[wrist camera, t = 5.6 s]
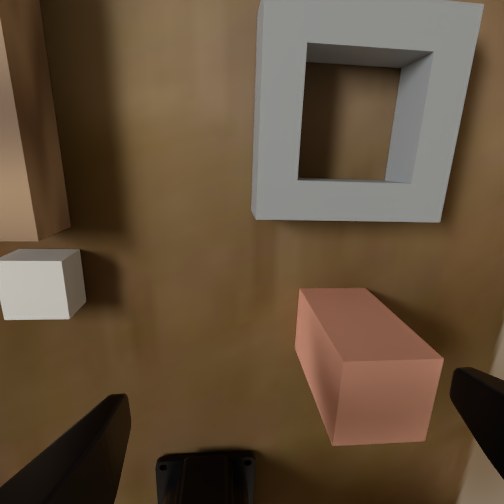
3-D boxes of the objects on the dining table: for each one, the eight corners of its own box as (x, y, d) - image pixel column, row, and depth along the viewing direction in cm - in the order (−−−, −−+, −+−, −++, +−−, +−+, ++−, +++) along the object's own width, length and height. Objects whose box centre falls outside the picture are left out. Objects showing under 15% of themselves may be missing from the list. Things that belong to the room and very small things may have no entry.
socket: (410, 213, 18) (440, 222, 15) (251, 210, 17) (255, 219, 14) (443, 28, 15) (484, 3, 13) (257, 13, 14) (264, -16, 12)
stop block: (86, 301, 17) (69, 318, 15) (28, 302, 17) (4, 319, 15) (79, 249, 17) (61, 261, 15) (19, 249, 16) (-8, 260, 14)
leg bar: (-22, -37, 13) (-92, -93, 10) (34, -33, 13) (-18, -86, 10) (25, 226, 16) (-18, 241, 13) (70, 226, 16) (38, 241, 13)
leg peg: (356, 346, 20) (424, 441, 13) (294, 348, 20) (332, 446, 13) (365, 287, 19) (443, 359, 12) (299, 288, 18) (343, 361, 12)
